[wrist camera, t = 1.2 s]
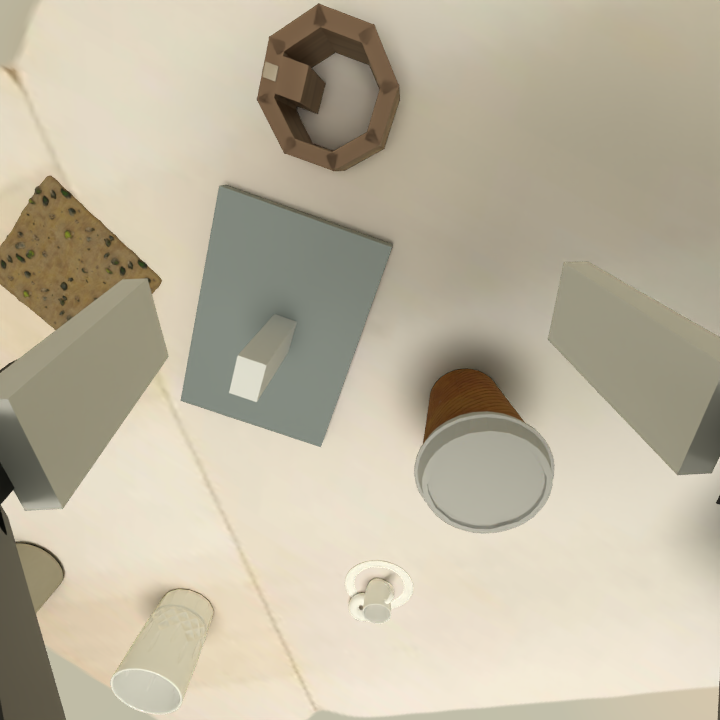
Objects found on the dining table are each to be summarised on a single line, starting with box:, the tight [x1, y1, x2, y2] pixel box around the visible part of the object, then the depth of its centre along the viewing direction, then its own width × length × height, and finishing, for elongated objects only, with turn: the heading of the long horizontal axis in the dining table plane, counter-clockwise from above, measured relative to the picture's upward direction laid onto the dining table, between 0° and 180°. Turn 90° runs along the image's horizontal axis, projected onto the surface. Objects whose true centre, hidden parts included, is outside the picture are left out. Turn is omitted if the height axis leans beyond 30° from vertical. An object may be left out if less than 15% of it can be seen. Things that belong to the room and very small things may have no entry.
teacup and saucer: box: [345, 561, 413, 623], centre depth 50 cm, size 9×8×4 cm
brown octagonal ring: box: [257, 4, 400, 171], centre depth 29 cm, size 8×8×6 cm
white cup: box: [110, 589, 213, 714], centre depth 51 cm, size 8×8×10 cm
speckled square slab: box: [0, 176, 162, 330], centre depth 39 cm, size 12×12×1 cm
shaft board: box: [181, 185, 393, 447], centre depth 34 cm, size 14×20×10 cm
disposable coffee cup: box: [414, 369, 554, 533], centre depth 35 cm, size 10×10×12 cm
